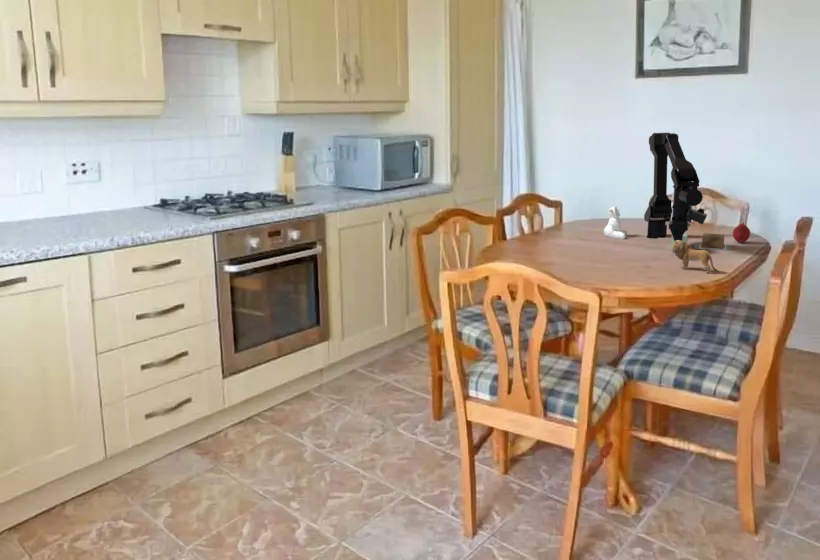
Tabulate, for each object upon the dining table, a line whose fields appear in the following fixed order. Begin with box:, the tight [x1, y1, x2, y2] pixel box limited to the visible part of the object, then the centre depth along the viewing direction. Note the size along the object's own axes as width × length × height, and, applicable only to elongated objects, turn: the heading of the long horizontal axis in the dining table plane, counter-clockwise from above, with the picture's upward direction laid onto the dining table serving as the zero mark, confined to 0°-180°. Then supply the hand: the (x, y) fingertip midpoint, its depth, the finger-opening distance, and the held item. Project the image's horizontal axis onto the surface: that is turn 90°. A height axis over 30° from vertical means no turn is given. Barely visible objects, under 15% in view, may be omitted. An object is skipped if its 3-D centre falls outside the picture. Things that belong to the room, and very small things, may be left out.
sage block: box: [670, 233, 688, 249], centre depth 257 cm, size 5×5×5 cm
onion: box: [732, 221, 751, 244], centre depth 262 cm, size 6×6×8 cm
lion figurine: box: [670, 240, 719, 274], centre depth 225 cm, size 15×5×9 cm, turn 51°
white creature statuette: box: [603, 205, 628, 240], centre depth 281 cm, size 10×9×12 cm
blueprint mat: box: [693, 242, 732, 252], centre depth 258 cm, size 12×12×1 cm
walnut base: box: [701, 232, 725, 249], centre depth 257 cm, size 7×7×4 cm
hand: (678, 245), depth 258 cm, fingers closed on sage block, 5 cm apart
